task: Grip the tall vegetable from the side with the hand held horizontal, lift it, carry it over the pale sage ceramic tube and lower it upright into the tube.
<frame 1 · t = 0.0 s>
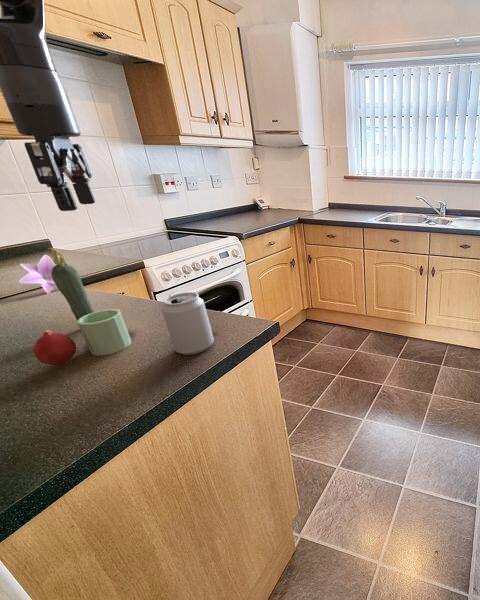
hand: (79, 207, 60), 30 cm above the table, tool pointing down, fingers open, 8 cm apart
onion: (63, 365, 68), on the table
tube: (111, 346, 74), on the table
can: (196, 348, 73), on the table
vegetable: (88, 328, 82), on the table
lily: (52, 289, 106), on the table
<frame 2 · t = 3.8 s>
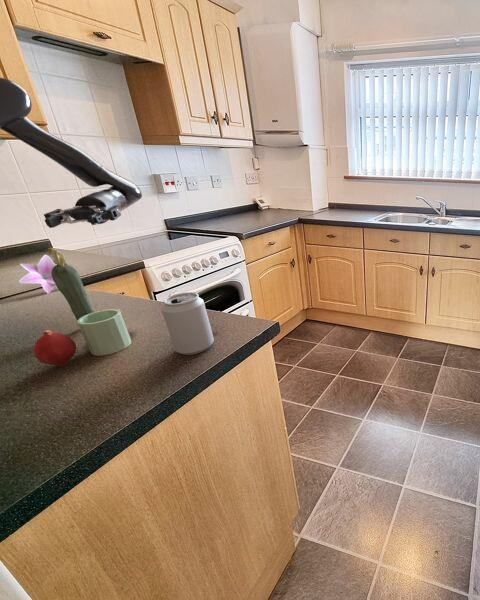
hand: (70, 222, 81), 24 cm above the table, tool horizontal, fingers open, 8 cm apart
nothing on the table moved.
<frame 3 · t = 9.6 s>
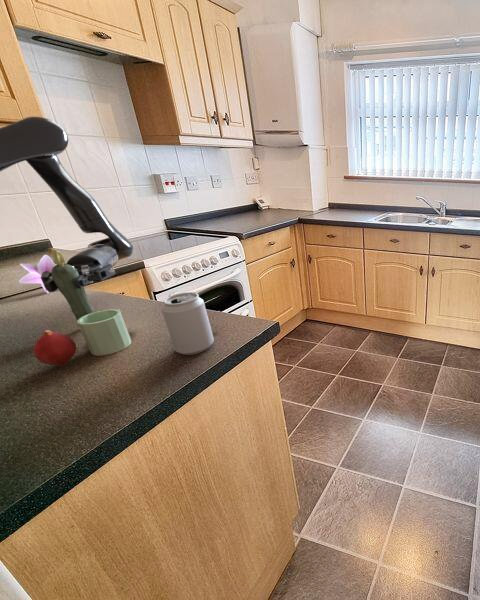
hand: (63, 286, 75), 12 cm above the table, tool horizontal, fingers closed on vegetable, 4 cm apart
vegetable: (88, 328, 82), on the table, touching gripper
everything else where it was.
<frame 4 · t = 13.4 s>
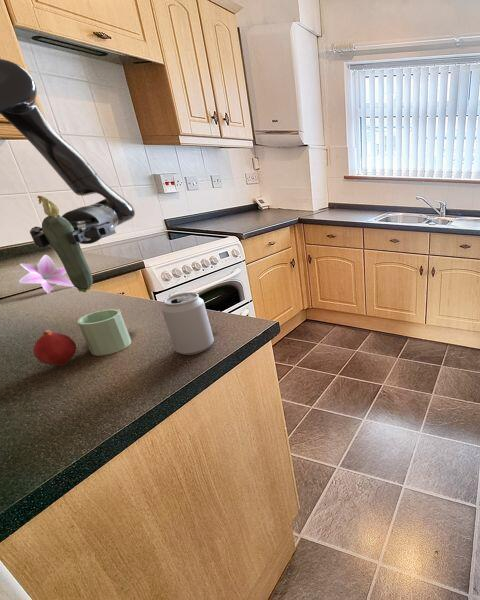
hand: (56, 240, 64), 24 cm above the table, tool horizontal, fingers closed on vegetable, 4 cm apart
vegetable: (85, 293, 72), point 11 cm above the table, touching gripper
everything else where it was.
when the fingers open (12 cm above the table, at t = 17.4 s): vegetable stays where it is, resting on tube.
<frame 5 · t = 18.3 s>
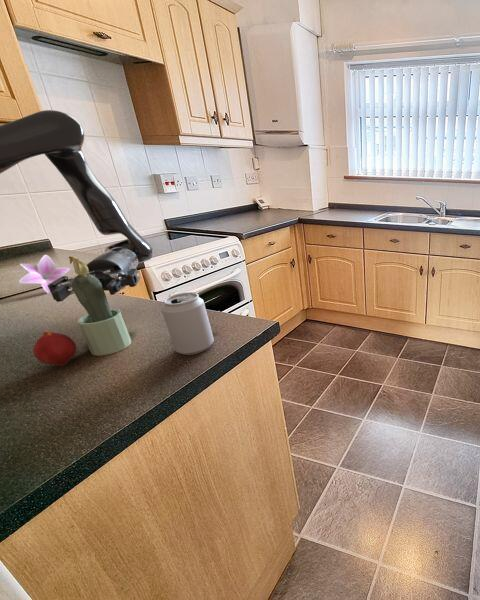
hand: (84, 293, 67), 13 cm above the table, tool horizontal, fingers open, 8 cm apart
vegetable: (111, 345, 74), resting on tube
everything else where it was.
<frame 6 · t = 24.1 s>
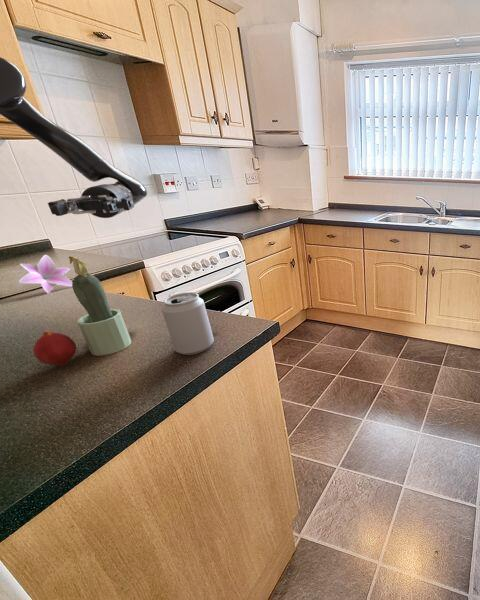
hand: (81, 209, 72), 28 cm above the table, tool horizontal, fingers open, 8 cm apart
nothing on the table moved.
at the end: vegetable 0.2 cm off-centre in the tube, point 0.3 cm above the tube's base; the gripper is holding nothing; vegetable tilted 0° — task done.
